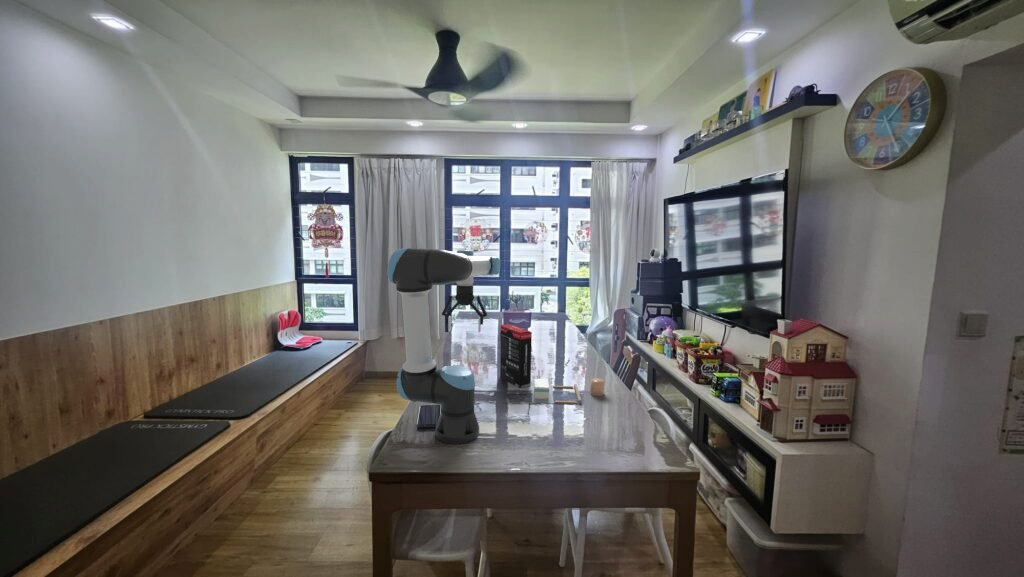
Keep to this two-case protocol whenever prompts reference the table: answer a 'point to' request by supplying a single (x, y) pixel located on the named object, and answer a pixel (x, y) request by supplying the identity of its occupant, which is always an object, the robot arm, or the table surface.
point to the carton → (541, 389)
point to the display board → (552, 396)
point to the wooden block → (597, 387)
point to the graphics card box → (515, 355)
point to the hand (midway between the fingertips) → (464, 331)
